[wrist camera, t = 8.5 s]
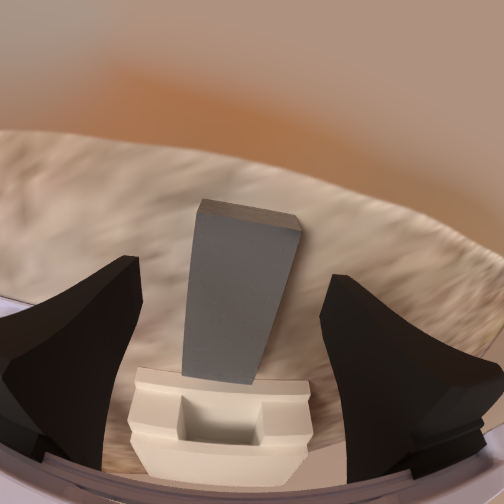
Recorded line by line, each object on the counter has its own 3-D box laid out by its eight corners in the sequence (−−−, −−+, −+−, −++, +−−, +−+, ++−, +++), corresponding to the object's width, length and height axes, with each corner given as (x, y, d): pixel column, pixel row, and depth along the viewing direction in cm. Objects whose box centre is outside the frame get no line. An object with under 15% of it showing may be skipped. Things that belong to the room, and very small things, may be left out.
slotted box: (278, 443, 28) (282, 485, 23) (157, 433, 27) (150, 476, 22) (308, 380, 22) (319, 439, 17) (138, 366, 21) (121, 425, 16)
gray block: (186, 350, 21) (181, 375, 19) (203, 196, 15) (196, 212, 13) (251, 359, 21) (252, 385, 19) (294, 212, 16) (302, 231, 14)
